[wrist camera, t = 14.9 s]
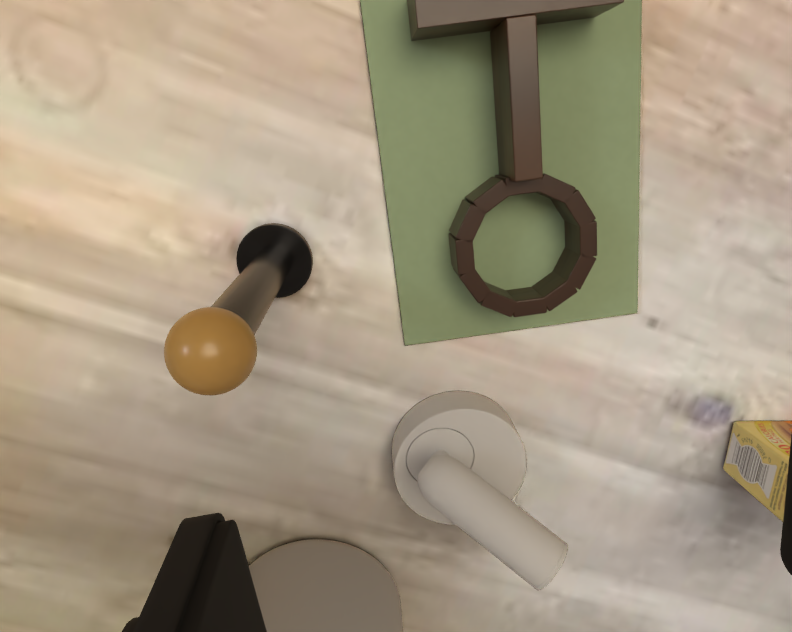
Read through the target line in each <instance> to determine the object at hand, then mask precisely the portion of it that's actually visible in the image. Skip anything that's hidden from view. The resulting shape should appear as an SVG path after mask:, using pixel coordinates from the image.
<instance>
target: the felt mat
mask: <svg viewBox="0 0 792 632" xmlns="http://www.w3.org/2000/svg"><path fill="white" fill-rule="evenodd" d="M360 4H361V11H362V19H363V27H364V35H365V42H366V50H367V58H368V65H369V73H370V81H371V88H372V96H373V104H374V112H375V119H376V127H377V135H378V142H379V150H380V158H381V165H382V173H383V181H384V189H385V196H386V204H387V212H388V219H389V227H390V235H391V243H392V250H393V258H394V266H395V273H396V281H397V289H398V296H399V304H400V312H401V320H402V327H403V335H404V343H405V346H406V345H413V344H420V343H428V342H435V341H442V340H449V339H456V338H463V337H470V336H477V335H485V334H492V333H499V332H506V331H513V330H520V329H527V328H535V327H542V326H549V325H556V324H563V323H570V322H577V321H584V320H592V319H599V318H606V317H613V316H620V315H627V314H634V313H637V307H638V235H639V164H640V92H641V20H642V0H624V2H623V3H621V4H620V5H618V6H616V7H614V8H612V9H610V10H608V11H606V12H604V13H602V14H600V15H598V16H597V17H595V18H588V19H580V20H572V21H564V22H556V23H549V24H541V25H537V41H538V67H539V92H540V118H541V143H542V168H543V173H545V174H547V175H549V176H552V177H554V178H556V179H558V180H560V181H563V182H565V183H567V184H569V185H571V186H574V187H575V188H576V189H577V190H579V192H580V193H581V195H582V197H583V198H584V200H585V201H586V203H587V205H588V206H589V208H590V209H591V211H592V212H593V214H594V216H595V217H596V219H595V220H594V221H597V256H593V257H595V258H596V261H595V263H594V265H593V266H592V268H591V270H590V272H589V274H588V276H587V278H586V280H585V282H584V283H583V285H582V287H581V289H580V290H579V289H577V288H576V289H577V291H578V292H577V293H575V294H574V295H573V296H571V297H570V298H568V299H567V300H566V301H564V302H563V303H561V304H560V305H559V306H557V307H556V308H554V309H553V310H551V311H548V310H547V313H542V314H535V315H528V316H521V317H513V316H512V317H509V316H506V315H504V314H501V313H499V312H496V311H494V310H491V309H489V308H486V307H484V306H481V305H480V303H478V302H477V301H476V300H475V298H474V297H473V296H472V294H471V293H470V292H469V290H468V289H467V288H466V286H465V285H464V283H463V282H462V281H461V279H460V278H459V277H458V275H457V274H456V272H455V271H454V270H453V266H452V265H451V256H450V246H449V235H448V234H449V233H451V232H450V231H449V229H450V227H451V224H452V222H453V220H454V218H455V215H456V213H457V211H458V209H459V206H460V204H461V202H462V200H463V199H464V200H466V199H465V197H466V196H467V195H468V194H469V193H471V192H472V191H473V190H475V189H476V188H477V187H479V186H480V185H481V184H482V183H484V182H485V181H486V180H488V179H489V178H490V177H495V175H497V174H499V166H498V150H497V134H496V119H495V103H494V87H493V72H492V56H491V41H490V31H487V32H479V33H471V34H463V35H456V36H448V37H440V38H432V39H425V40H417V41H411V35H410V25H409V16H408V6H407V0H360ZM466 201H467V200H466ZM564 248H565V225H564V219H563V218H562V216H561V215H560V213H559V212H558V210H557V209H556V207H555V206H554V204H553V202H552V201H551V199H549V198H547V197H545V196H542V195H540V194H538V193H536V192H535V193H528V194H520V195H513V196H509V197H507V198H506V199H505V200H503V201H502V202H501V203H499V204H498V205H497V206H495V207H494V208H493V209H491V210H490V211H489V212H487V213H486V214H485V216H484V218H483V221H482V223H481V225H480V227H479V229H478V231H477V234H476V236H475V238H474V240H473V249H474V261H475V270H476V271H477V272H478V274H479V275H480V277H481V278H482V279H483V281H484V282H487V283H489V284H492V285H494V286H497V287H499V288H501V289H504V290H511V289H519V288H526V287H532V286H533V285H534V284H536V283H537V282H539V281H540V280H541V279H543V278H544V277H545V276H547V275H548V274H550V273H551V272H552V271H553V269H554V268H555V266H556V264H557V262H558V260H559V258H560V256H561V254H562V252H563V250H564Z"/></svg>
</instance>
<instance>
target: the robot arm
mask: <svg viewBox="0 0 792 632" xmlns="http://www.w3.org/2000/svg"><path fill="white" fill-rule="evenodd" d="M780 550H781V557H782V561H783V563H784V565H785V567H786V568H787V570H788V572H789V573H790V574H791V575H792V434H791V445H790V455H789V466H788V476H787V486H786V497H785V507H784V518H783V528H782V539H781V549H780ZM122 632H267V630H266V627H265V623H264V620H263V616H262V613H261V609H260V605H259V602H258V598H257V595H256V591H255V587H254V584H253V580H252V577H251V573H250V570H249V566H248V562H247V559H246V555H245V552H244V548H243V544H242V541H241V537H240V534H239V530H238V527H237V524H236V522H235V521H234V520H229V521H225V519H224V517H223V515H222V514H220V513H215V514H209V515H203V516H198V517H192V518H186V519H184V520H182V522H181V524H180V525H179V528H178V530H177V532H176V535H175V537H174V539H173V541H172V544H171V546H170V548H169V551H168V553H167V555H166V557H165V560H164V562H163V564H162V567H161V569H160V571H159V573H158V576H157V578H156V580H155V583H154V585H153V587H152V589H151V592H150V594H149V596H148V598H147V601H146V603H145V605H144V608H143V610H142V612H141V614H140V617H137V618H133V619H132V620H130V621H129V622H128V623H127V624H126V626H125V627H124V629H123V631H122Z"/></svg>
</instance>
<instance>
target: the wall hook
mask: <svg viewBox="0 0 792 632" xmlns="http://www.w3.org/2000/svg"><path fill="white" fill-rule="evenodd" d="M392 460H393V470H394V479H395V483H396V487H397V489H398V492H399V494H400V496H401V497H402V499H403V500H404V502H405V503H406V504H407V505H408V506H409V507H410V508H411V509H412V510H413V511H414V512H416V513H417V514H419V515H420V516H422V517H424V518H426V519H428V520H431V521H434V522H437V523H442V524H449V525H457V526H458V527H459V528H460V529H462V530H463V531H464V532H465V533H467V534H468V535H469V536H470V537H472V538H473V539H474V540H475V541H477V542H478V543H479V544H480V545H482V546H483V547H484V548H485V549H487V550H488V551H489V552H490V553H491V554H493V555H494V556H495V557H496V558H498V559H499V560H500V561H501V562H503V563H504V564H505V565H506V566H508V567H509V568H510V569H511V570H513V571H514V572H515V573H516V574H518V575H519V576H520V577H521V578H523V579H524V580H525V581H526V582H528V583H529V584H530V585H531V586H533V587H534V588H535V589H536V590H541V589H543V588H544V587H546V586H547V585H548V584H549V583H550V582H551V581H552V579H553V578H554V577H555V575H556V574H557V573H558V571H559V570H560V568H561V566H562V564H563V562H564V560H565V558H566V555H567V551H568V545H567V543H565V542H564V541H563V540H562V539H560V538H559V537H558V536H556V535H555V534H554V533H552V532H551V531H550V530H549V529H547V528H546V527H545V526H543V525H542V524H541V523H540V522H538V521H537V520H536V519H534V518H533V517H532V516H530V515H529V514H528V513H527V512H525V511H524V510H523V509H521V508H520V507H519V506H518V505H516V504H515V503H514V502H512V501H511V500H512V499H513V498H514V497H515V495H516V494H517V492H518V491H519V489H520V487H521V485H522V483H523V480H524V477H525V473H526V467H527V458H526V452H525V448H524V445H523V442H522V440H521V438H520V436H519V434H518V432H517V430H516V429H515V427H514V425H513V423H512V421H511V419H510V418H509V416H508V414H507V413H506V412H505V411H504V410H503V408H502V407H500V406H499V405H498V404H497V403H496V402H494V401H493V400H491V399H489V398H487V397H485V396H483V395H480V394H477V393H473V392H467V391H450V392H444V393H440V394H436V395H433V396H431V397H428V398H426V399H425V400H423V401H421V402H419V403H418V404H417V405H415V406H414V407H413V408H412V409H410V410H409V411H408V412H407V414H406V415H405V416H404V417H403V418H402V420H401V421H400V423H399V425H398V427H397V429H396V431H395V434H394V437H393V442H392Z"/></svg>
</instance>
